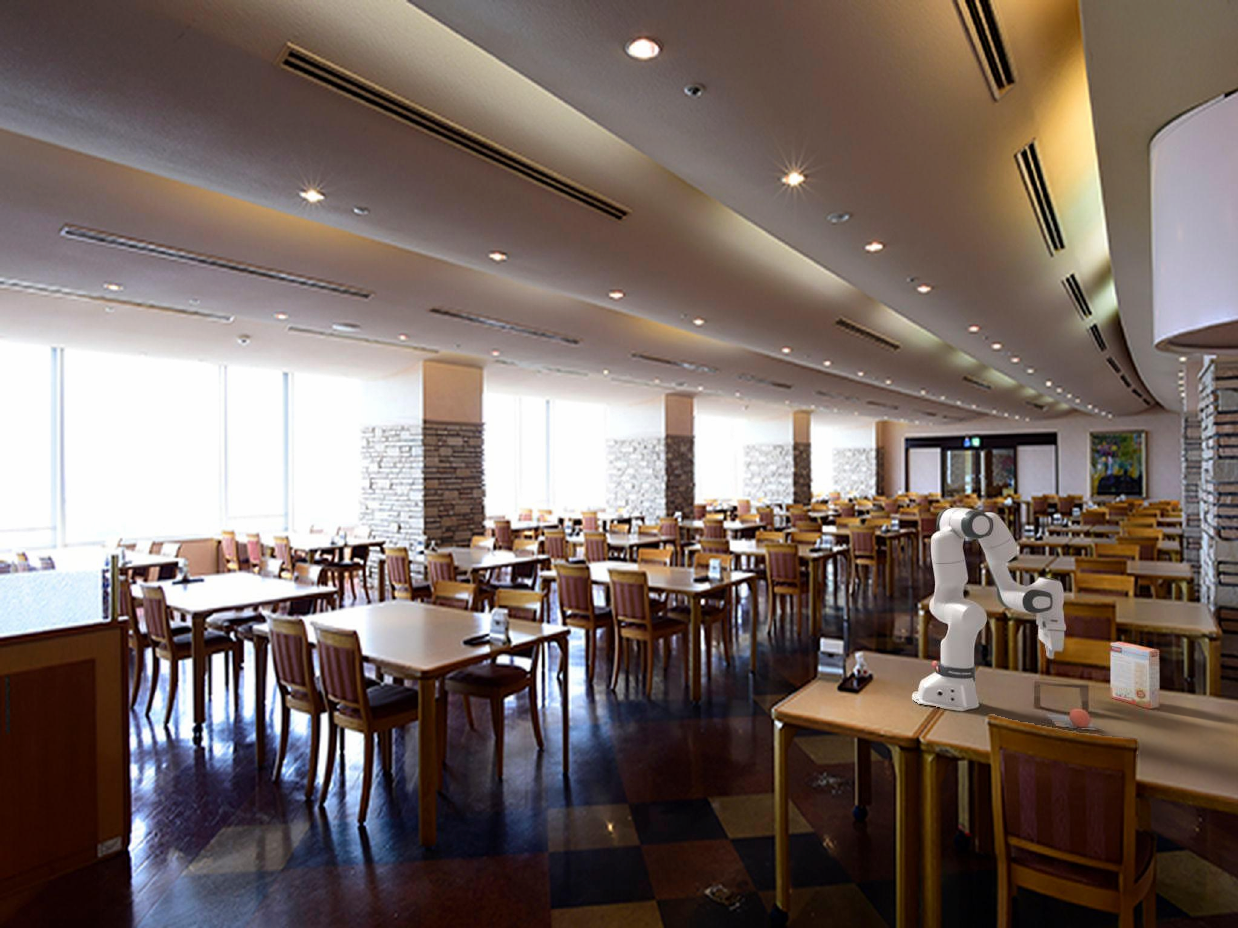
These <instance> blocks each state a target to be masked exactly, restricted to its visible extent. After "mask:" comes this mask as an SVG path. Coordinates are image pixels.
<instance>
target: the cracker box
mask: <svg viewBox="0 0 1238 928" xmlns="http://www.w3.org/2000/svg"><path fill="white" fill-rule="evenodd" d="M1110 698H1111V699H1114V700H1116V701H1117V700H1118V701H1121V702H1124V703H1128V704H1130V705H1135V706H1139V707H1142V708H1145V709H1147V708H1148V709H1147V710H1151V709H1156V708H1157V709H1158V708H1160V650H1159V649H1156V648H1152V647H1151V648H1150V647H1147V646H1142V645H1137V644H1132V643H1129V642H1124V641H1116V642H1110Z"/></svg>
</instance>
